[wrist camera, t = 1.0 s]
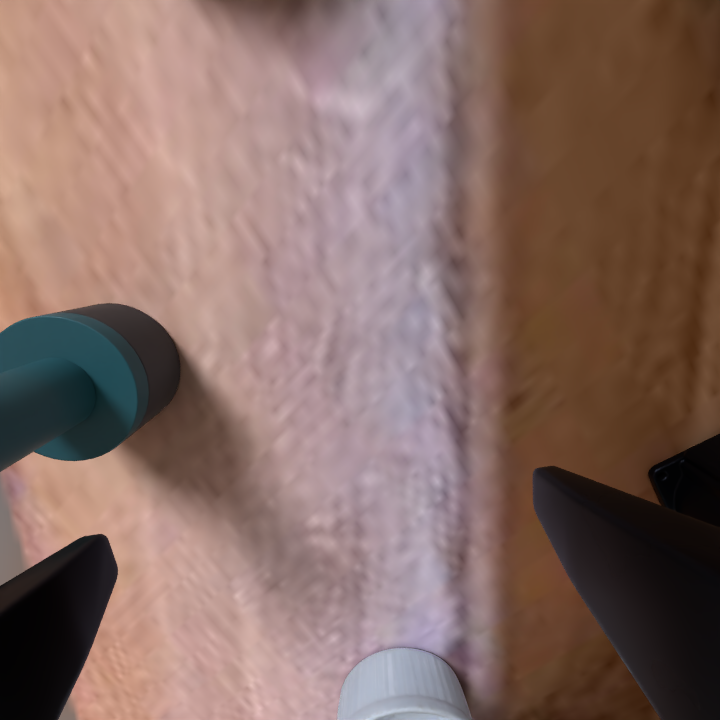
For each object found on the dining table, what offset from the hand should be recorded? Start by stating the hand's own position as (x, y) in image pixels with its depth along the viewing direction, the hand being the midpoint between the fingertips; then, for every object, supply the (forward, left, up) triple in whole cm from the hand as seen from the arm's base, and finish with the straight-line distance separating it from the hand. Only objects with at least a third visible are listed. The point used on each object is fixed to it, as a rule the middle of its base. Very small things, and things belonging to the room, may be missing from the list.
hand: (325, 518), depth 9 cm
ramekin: (-21, +8, -14) cm, 27 cm away
